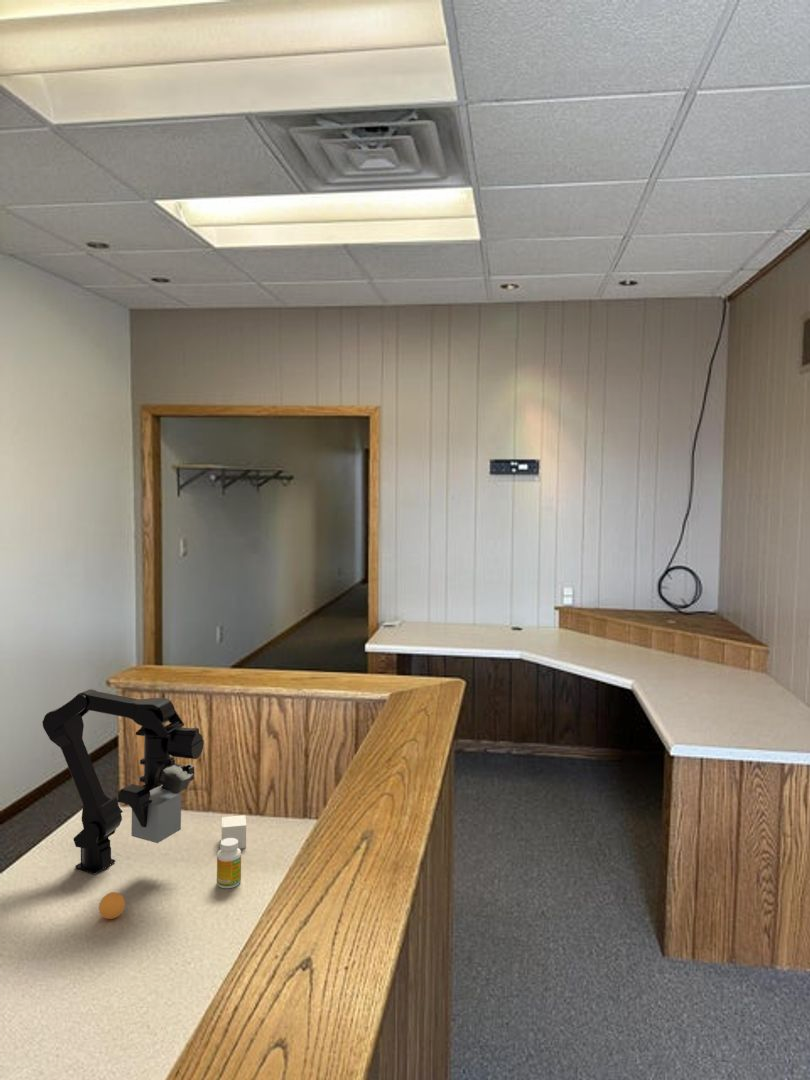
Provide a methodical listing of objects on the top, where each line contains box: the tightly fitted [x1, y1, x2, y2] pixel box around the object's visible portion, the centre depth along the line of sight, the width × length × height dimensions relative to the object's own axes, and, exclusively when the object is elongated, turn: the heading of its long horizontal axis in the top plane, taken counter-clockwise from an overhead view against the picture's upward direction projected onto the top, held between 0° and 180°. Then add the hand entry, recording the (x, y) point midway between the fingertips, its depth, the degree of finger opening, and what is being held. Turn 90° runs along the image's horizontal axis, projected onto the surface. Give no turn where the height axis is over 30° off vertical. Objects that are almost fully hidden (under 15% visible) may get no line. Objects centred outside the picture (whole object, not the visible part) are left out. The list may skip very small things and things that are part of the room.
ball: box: [98, 891, 126, 920], centre depth 151 cm, size 5×5×5 cm
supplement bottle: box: [216, 838, 242, 889], centre depth 165 cm, size 5×5×10 cm
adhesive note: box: [220, 814, 247, 850], centre depth 184 cm, size 6×6×6 cm
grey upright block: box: [131, 787, 182, 844], centre depth 168 cm, size 8×8×9 cm
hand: (156, 820), depth 168 cm, fingers closed on grey upright block, 8 cm apart
